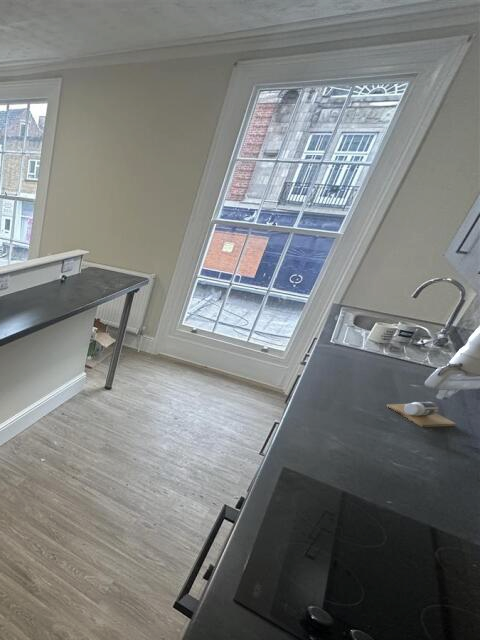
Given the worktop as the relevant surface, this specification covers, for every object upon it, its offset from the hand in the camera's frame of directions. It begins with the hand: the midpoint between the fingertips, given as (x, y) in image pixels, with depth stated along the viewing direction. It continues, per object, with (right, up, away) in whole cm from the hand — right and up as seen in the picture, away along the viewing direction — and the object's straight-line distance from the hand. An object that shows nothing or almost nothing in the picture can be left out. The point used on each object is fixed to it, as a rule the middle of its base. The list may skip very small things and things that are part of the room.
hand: (441, 398), depth 138 cm
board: (-4, -6, +3) cm, 8 cm away
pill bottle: (-2, -4, +1) cm, 4 cm away
